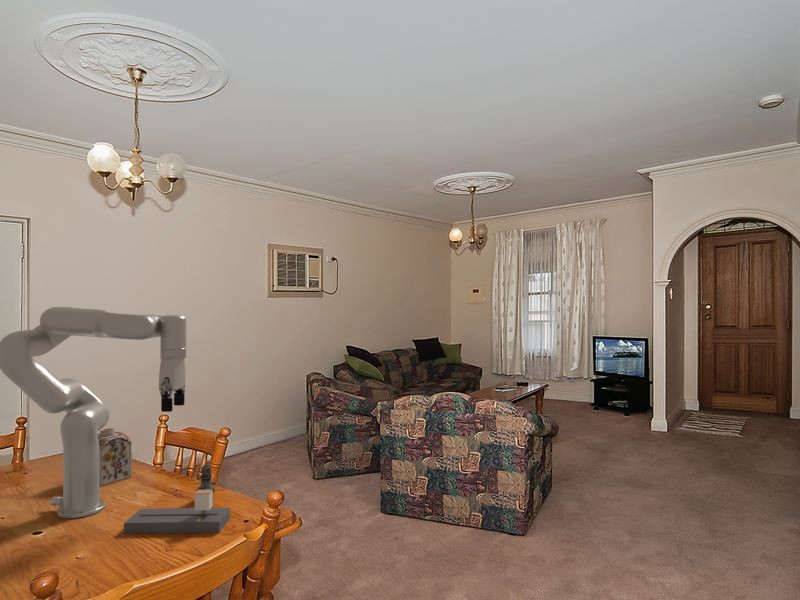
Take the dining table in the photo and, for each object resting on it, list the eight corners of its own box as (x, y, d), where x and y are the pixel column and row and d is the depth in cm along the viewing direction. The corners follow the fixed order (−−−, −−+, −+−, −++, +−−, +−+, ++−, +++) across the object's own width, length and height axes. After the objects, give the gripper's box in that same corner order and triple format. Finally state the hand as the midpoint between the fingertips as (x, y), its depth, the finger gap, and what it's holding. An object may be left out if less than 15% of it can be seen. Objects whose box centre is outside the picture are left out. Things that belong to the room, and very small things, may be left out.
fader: (194, 515, 148) (194, 493, 148) (198, 511, 151) (198, 489, 151) (209, 515, 148) (209, 493, 148) (212, 511, 151) (212, 489, 151)
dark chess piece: (209, 503, 166) (209, 465, 166) (192, 502, 167) (192, 464, 167) (219, 496, 172) (219, 460, 172) (202, 495, 173) (203, 459, 173)
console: (124, 533, 144) (124, 522, 144) (140, 519, 154) (140, 508, 154) (219, 532, 145) (219, 520, 145) (230, 517, 155) (230, 506, 155)
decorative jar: (82, 481, 187) (82, 430, 187) (114, 472, 197) (114, 424, 197) (100, 487, 181) (100, 435, 181) (132, 477, 191) (133, 428, 191)
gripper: (172, 351, 174) (172, 403, 174) (149, 356, 157) (149, 414, 157) (195, 351, 174) (195, 403, 174) (174, 356, 157) (174, 414, 157)
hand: (173, 408), depth 165 cm, fingers open, 9 cm apart
